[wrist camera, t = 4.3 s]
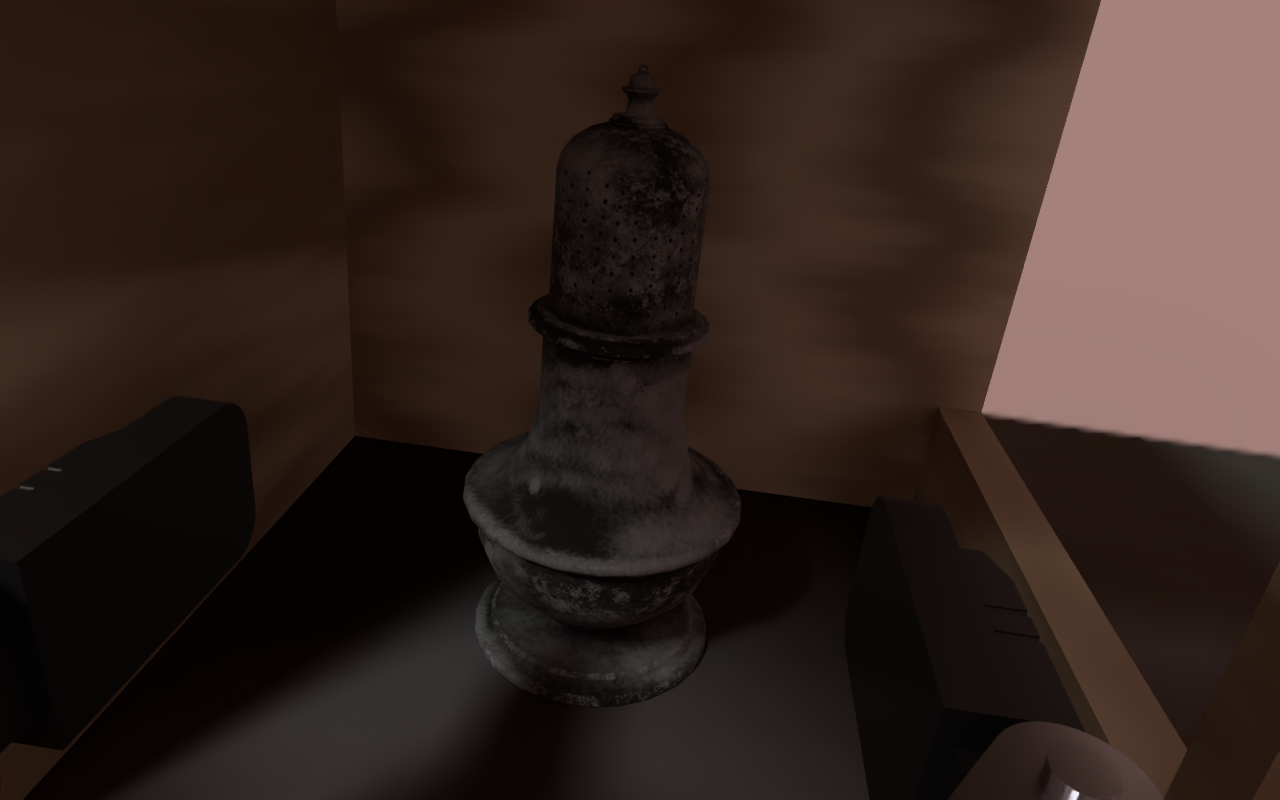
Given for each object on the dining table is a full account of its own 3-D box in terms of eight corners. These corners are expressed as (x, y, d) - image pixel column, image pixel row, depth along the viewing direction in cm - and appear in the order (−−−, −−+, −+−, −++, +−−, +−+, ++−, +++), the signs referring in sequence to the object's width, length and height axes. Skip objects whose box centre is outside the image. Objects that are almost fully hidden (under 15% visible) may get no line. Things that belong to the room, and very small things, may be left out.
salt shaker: (677, 541, 23) (742, 64, 18) (757, 700, 18) (879, 98, 13) (452, 555, 22) (458, 38, 17) (471, 734, 16) (487, 65, 12)
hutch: (-122, 863, 13) (-707, -635, 6) (333, 414, 28) (301, -182, 21) (1189, 1087, 12) (2140, -424, 5) (941, 497, 27) (1110, -102, 20)
